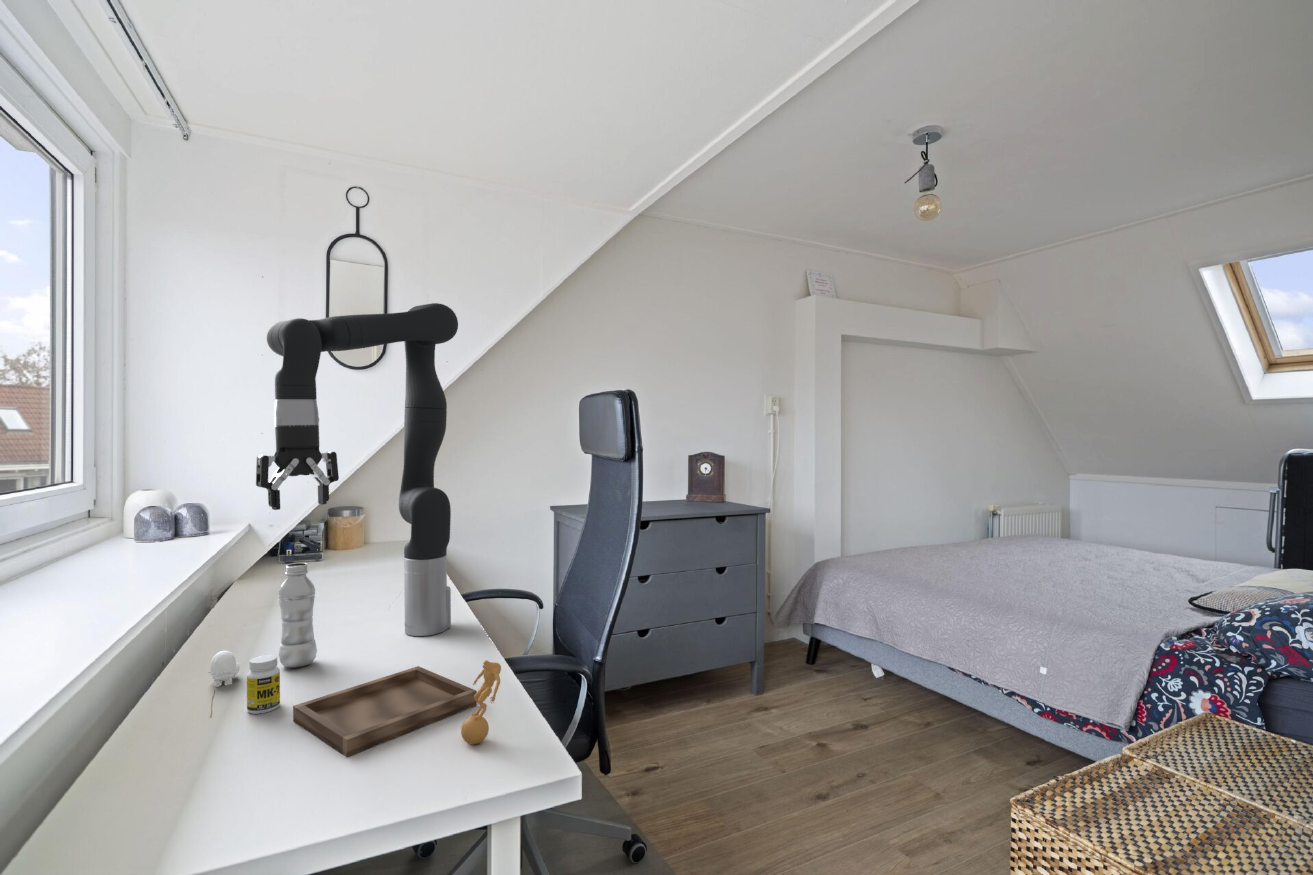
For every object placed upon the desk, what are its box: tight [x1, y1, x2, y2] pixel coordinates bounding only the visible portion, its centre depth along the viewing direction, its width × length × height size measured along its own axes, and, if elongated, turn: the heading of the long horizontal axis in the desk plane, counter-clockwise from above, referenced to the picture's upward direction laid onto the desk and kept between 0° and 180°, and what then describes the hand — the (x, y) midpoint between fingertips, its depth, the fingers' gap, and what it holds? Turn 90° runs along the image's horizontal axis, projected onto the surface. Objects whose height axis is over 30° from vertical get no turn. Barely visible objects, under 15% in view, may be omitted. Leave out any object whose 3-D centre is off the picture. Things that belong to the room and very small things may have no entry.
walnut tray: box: [292, 665, 478, 758], centre depth 107 cm, size 22×18×2 cm
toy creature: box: [208, 650, 241, 687], centre depth 120 cm, size 5×8×6 cm, turn 25°
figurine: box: [460, 659, 502, 745], centre depth 98 cm, size 8×6×12 cm
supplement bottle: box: [246, 654, 281, 715], centre depth 109 cm, size 5×5×8 cm
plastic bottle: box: [277, 562, 318, 669], centre depth 128 cm, size 6×7×20 cm
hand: (299, 506), depth 127 cm, fingers open, 8 cm apart
